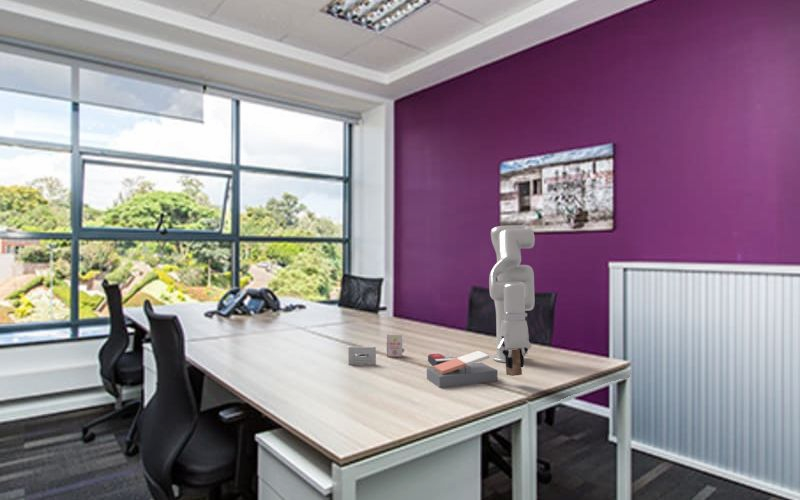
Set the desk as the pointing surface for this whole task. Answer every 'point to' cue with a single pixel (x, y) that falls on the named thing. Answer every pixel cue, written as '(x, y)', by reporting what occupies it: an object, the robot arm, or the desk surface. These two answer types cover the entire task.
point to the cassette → (362, 359)
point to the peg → (514, 364)
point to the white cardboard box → (394, 345)
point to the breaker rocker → (461, 362)
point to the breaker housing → (463, 375)
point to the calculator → (440, 358)
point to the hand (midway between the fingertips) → (514, 366)
